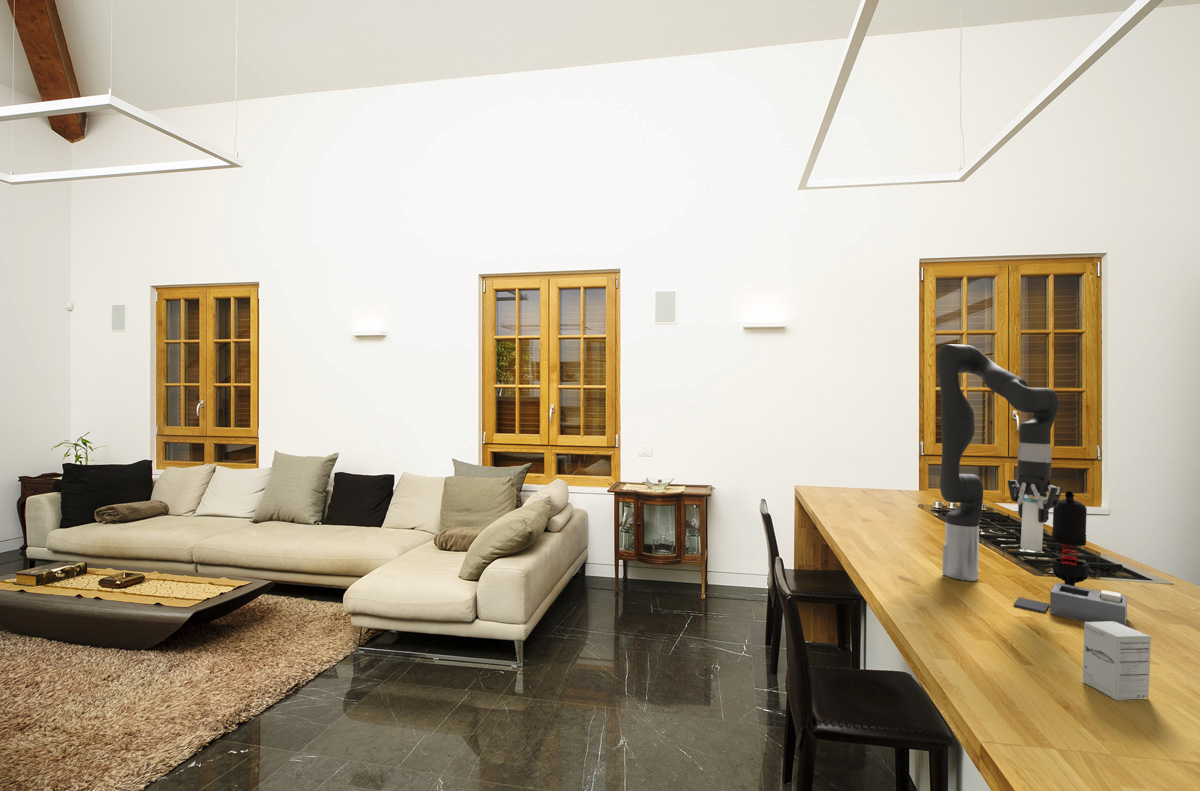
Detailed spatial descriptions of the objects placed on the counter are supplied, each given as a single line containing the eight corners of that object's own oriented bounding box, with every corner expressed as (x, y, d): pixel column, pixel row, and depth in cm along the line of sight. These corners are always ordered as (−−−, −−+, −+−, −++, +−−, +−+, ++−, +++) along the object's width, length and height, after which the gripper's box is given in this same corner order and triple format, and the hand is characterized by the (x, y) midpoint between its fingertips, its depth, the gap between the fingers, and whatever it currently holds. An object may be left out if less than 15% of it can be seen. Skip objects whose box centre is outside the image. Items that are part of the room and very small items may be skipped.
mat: (1013, 606, 162) (1013, 604, 162) (1018, 599, 168) (1018, 597, 168) (1045, 613, 157) (1045, 611, 157) (1049, 605, 163) (1049, 603, 163)
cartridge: (1033, 551, 159) (1035, 499, 159) (1016, 546, 164) (1018, 496, 164) (1046, 550, 160) (1048, 500, 160) (1029, 546, 165) (1031, 497, 165)
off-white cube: (1100, 612, 152) (1100, 593, 152) (1101, 608, 155) (1102, 589, 155) (1119, 616, 149) (1120, 596, 149) (1120, 612, 152) (1121, 593, 152)
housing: (1049, 613, 157) (1050, 591, 156) (1055, 603, 164) (1055, 582, 164) (1124, 630, 146) (1125, 606, 146) (1126, 618, 154) (1127, 596, 154)
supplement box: (1080, 682, 119) (1082, 621, 119) (1114, 681, 120) (1115, 620, 120) (1115, 701, 112) (1117, 636, 112) (1150, 700, 113) (1152, 635, 112)
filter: (1087, 594, 173) (1090, 493, 173) (1049, 586, 179) (1051, 489, 179) (1089, 583, 183) (1091, 488, 183) (1053, 576, 189) (1055, 484, 189)
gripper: (999, 456, 168) (998, 515, 168) (1050, 462, 154) (1049, 526, 154) (1019, 456, 170) (1018, 514, 170) (1071, 462, 156) (1070, 525, 156)
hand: (1033, 519), depth 162 cm, fingers closed on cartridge, 4 cm apart
